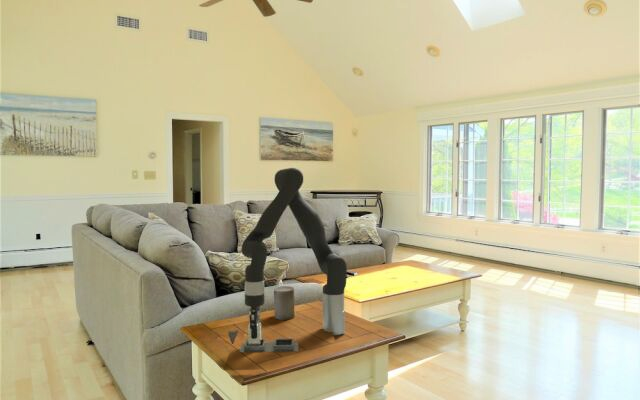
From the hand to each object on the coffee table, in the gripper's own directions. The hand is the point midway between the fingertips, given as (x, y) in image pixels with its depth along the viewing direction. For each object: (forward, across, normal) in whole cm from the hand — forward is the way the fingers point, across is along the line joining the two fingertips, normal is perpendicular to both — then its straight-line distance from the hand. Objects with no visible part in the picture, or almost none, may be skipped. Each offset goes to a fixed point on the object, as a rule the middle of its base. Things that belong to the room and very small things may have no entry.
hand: (254, 335), depth 179 cm
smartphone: (+7, +16, +8) cm, 19 cm away
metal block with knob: (+3, 0, 0) cm, 3 cm away
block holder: (+6, 0, -6) cm, 8 cm away
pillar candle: (+6, +42, -10) cm, 43 cm away
